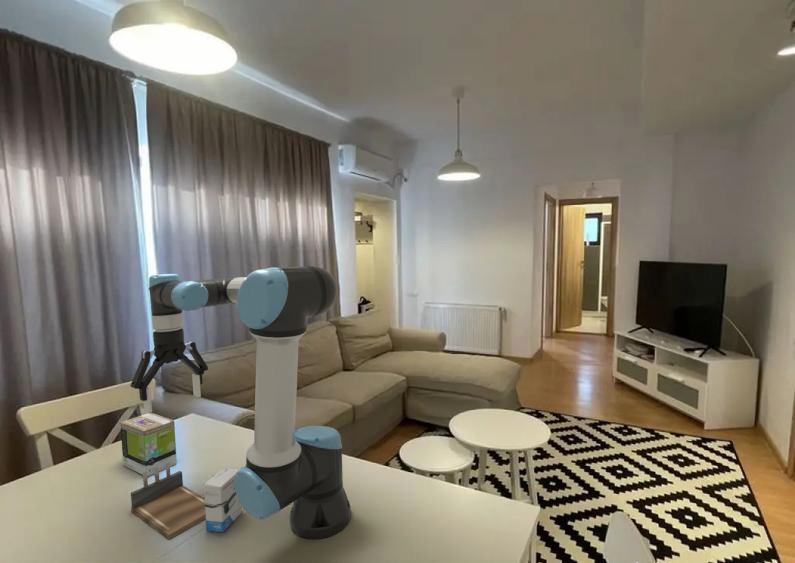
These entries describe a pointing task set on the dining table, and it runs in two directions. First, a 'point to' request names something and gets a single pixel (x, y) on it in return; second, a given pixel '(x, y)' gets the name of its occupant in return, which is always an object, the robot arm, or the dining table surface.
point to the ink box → (221, 501)
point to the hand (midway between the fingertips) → (173, 403)
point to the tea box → (148, 443)
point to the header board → (168, 504)
